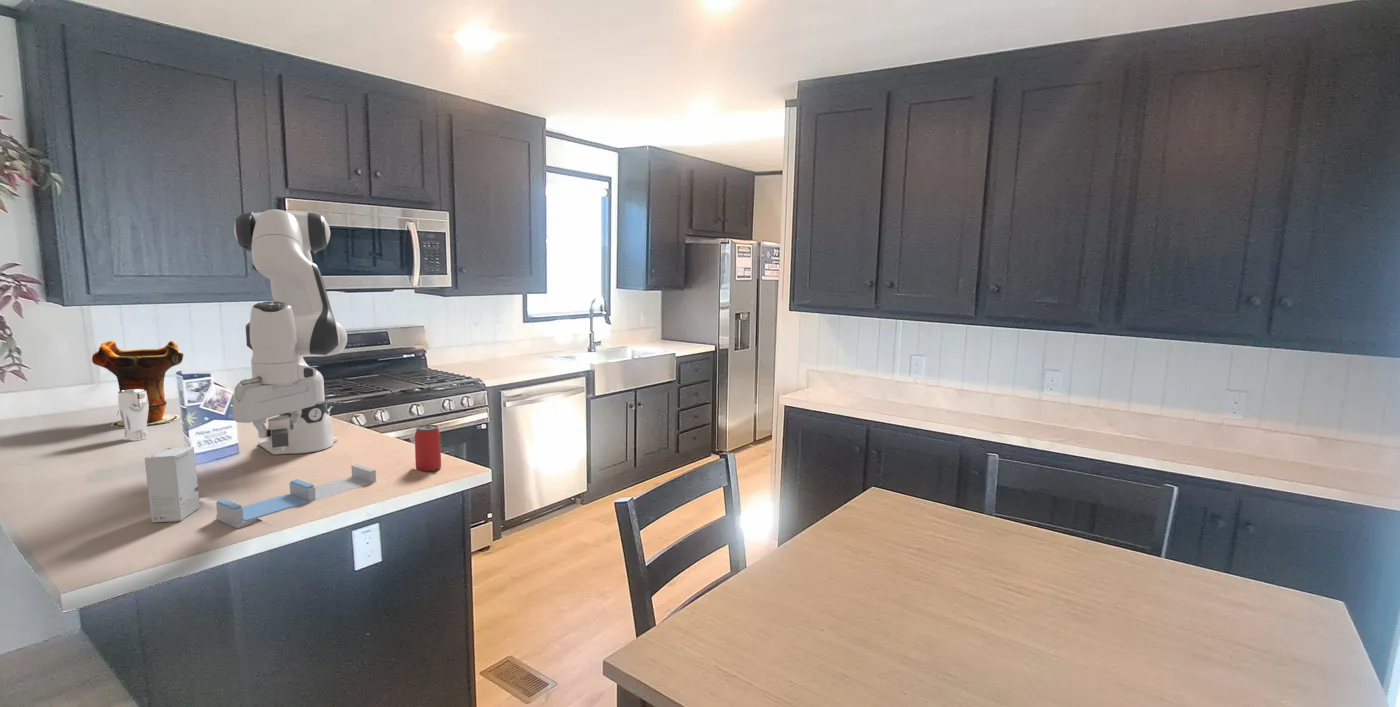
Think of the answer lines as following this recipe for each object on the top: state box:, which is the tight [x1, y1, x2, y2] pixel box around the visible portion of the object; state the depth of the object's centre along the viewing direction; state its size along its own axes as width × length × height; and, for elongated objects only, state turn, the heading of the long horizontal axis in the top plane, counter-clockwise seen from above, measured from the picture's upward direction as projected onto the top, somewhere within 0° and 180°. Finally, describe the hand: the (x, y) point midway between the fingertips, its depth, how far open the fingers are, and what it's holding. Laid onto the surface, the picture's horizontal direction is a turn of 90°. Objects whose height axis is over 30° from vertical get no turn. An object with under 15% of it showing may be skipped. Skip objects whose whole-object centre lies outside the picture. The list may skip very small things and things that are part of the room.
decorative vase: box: [91, 340, 184, 429], centre depth 217 cm, size 21×23×28 cm
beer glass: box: [117, 389, 151, 442], centre depth 198 cm, size 7×7×15 cm
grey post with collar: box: [267, 415, 291, 448], centre depth 148 cm, size 14×4×5 cm, turn 34°
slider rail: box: [215, 463, 378, 530], centre depth 154 cm, size 9×32×4 cm, turn 150°
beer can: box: [414, 424, 442, 473], centre depth 179 cm, size 7×7×12 cm
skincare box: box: [144, 446, 201, 523], centre depth 143 cm, size 8×6×15 cm
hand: (279, 433), depth 148 cm, fingers closed on grey post with collar, 6 cm apart
